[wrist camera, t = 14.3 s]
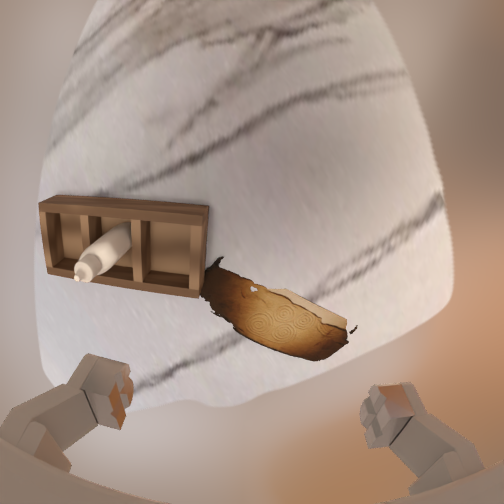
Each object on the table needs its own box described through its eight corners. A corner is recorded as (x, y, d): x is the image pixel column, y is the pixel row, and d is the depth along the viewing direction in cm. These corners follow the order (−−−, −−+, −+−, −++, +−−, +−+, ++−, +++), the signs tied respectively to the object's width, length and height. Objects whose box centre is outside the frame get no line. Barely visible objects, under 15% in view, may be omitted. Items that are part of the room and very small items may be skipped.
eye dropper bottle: (142, 253, 38) (103, 300, 27) (106, 251, 38) (60, 294, 27) (140, 221, 36) (96, 259, 25) (102, 220, 36) (51, 256, 25)
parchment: (360, 326, 43) (362, 329, 42) (323, 368, 46) (323, 371, 46) (215, 248, 39) (214, 250, 38) (184, 303, 42) (183, 306, 41)
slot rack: (56, 194, 36) (38, 202, 32) (208, 205, 36) (202, 215, 32) (63, 261, 40) (47, 273, 36) (204, 281, 40) (198, 298, 36)
